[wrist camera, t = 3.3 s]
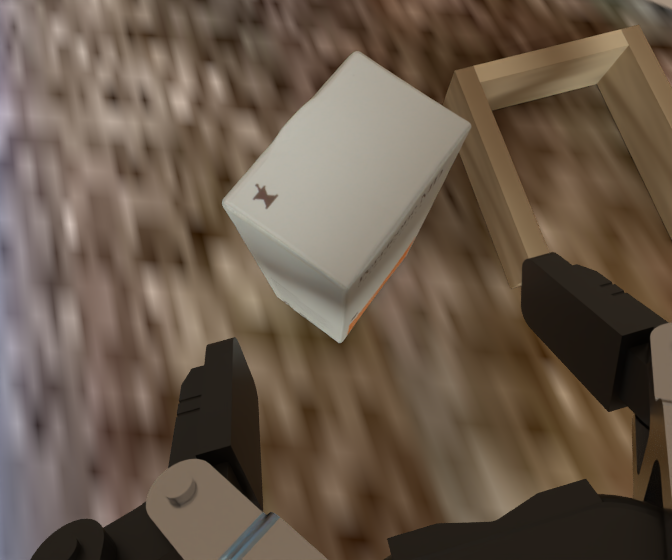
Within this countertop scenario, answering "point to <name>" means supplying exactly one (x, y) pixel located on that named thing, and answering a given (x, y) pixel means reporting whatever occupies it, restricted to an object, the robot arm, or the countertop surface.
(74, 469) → the countertop surface
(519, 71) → the u-shaped wooden frame
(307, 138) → the skincare box
